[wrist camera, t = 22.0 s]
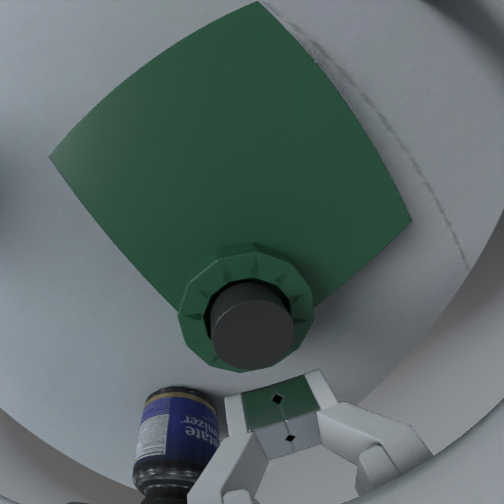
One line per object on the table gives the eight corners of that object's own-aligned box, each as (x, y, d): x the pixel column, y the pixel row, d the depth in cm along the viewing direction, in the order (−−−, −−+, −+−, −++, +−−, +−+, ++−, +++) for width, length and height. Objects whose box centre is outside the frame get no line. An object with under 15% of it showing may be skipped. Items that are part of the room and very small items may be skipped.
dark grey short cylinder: (296, 316, 14) (309, 338, 12) (241, 357, 14) (247, 382, 12) (253, 266, 13) (263, 283, 11) (194, 313, 13) (193, 335, 11)
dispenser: (386, 216, 18) (432, 230, 14) (230, 342, 19) (238, 389, 14) (248, 25, 13) (263, -17, 9) (70, 161, 14) (27, 159, 9)
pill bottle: (230, 413, 21) (250, 525, 10) (178, 437, 21) (179, 537, 11) (182, 372, 19) (179, 503, 9) (129, 401, 19) (108, 512, 9)
